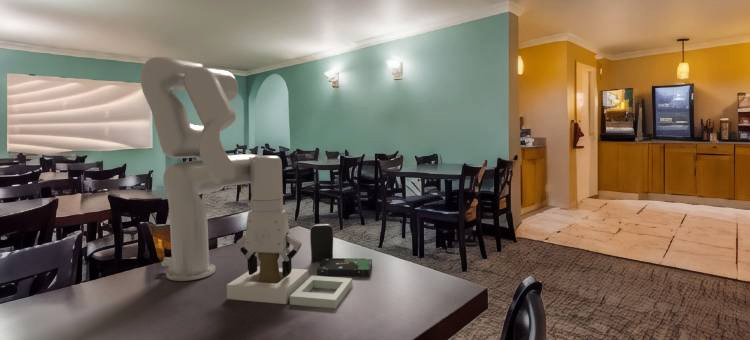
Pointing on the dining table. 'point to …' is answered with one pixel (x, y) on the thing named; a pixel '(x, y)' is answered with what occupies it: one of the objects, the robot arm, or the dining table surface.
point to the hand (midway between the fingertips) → (269, 274)
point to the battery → (321, 242)
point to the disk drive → (344, 267)
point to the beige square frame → (266, 287)
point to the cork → (269, 268)
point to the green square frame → (320, 299)
